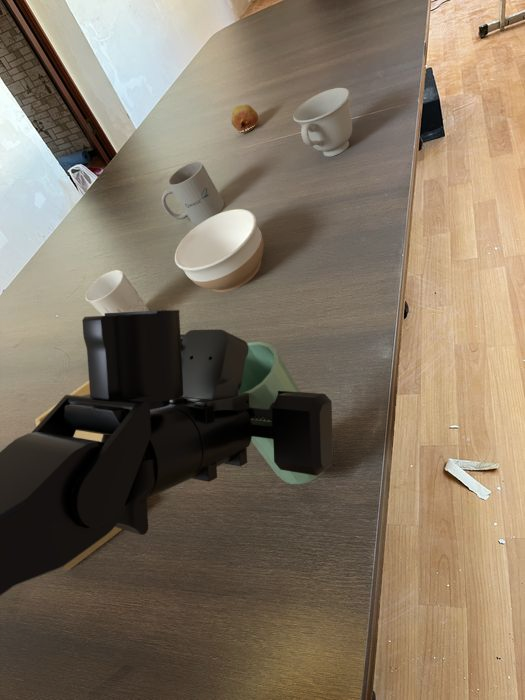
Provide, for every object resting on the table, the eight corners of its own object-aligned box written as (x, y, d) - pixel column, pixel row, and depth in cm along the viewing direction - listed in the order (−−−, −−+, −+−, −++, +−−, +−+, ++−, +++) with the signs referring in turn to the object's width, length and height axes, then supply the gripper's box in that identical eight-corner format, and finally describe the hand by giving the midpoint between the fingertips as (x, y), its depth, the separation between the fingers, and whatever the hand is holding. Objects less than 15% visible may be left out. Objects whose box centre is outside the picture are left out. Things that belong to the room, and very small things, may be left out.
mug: (226, 195, 113) (205, 156, 107) (221, 216, 108) (198, 176, 101) (181, 212, 118) (158, 175, 111) (173, 233, 112) (149, 196, 106)
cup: (323, 486, 51) (264, 397, 42) (266, 482, 54) (200, 398, 45) (337, 431, 55) (286, 339, 46) (283, 430, 58) (225, 344, 49)
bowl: (215, 248, 99) (195, 216, 94) (285, 237, 91) (267, 201, 86) (183, 306, 90) (159, 274, 85) (257, 298, 82) (236, 262, 77)
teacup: (294, 176, 105) (276, 133, 99) (324, 136, 112) (308, 93, 105) (344, 171, 98) (327, 124, 91) (372, 129, 104) (359, 82, 98)
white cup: (161, 309, 93) (130, 269, 86) (138, 340, 89) (104, 301, 82) (134, 307, 97) (103, 270, 91) (111, 337, 94) (77, 300, 87)
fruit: (226, 109, 136) (225, 122, 128) (246, 92, 133) (245, 105, 125) (242, 129, 139) (242, 143, 132) (261, 113, 136) (262, 126, 129)
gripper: (274, 338, 32) (364, 327, 45) (88, 339, 42) (205, 329, 55) (281, 506, 33) (366, 446, 46) (96, 466, 43) (209, 427, 56)
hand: (279, 406), depth 50 cm, fingers closed on cup, 7 cm apart
